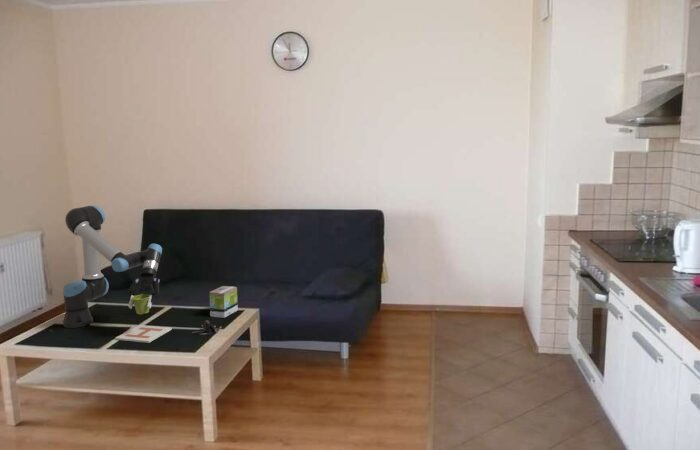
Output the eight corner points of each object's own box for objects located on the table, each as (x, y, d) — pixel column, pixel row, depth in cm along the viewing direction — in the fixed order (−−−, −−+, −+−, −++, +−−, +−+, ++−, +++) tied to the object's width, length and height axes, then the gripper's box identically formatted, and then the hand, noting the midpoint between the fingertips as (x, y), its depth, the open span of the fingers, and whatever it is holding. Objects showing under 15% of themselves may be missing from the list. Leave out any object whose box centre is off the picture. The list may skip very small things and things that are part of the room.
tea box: (225, 318, 322) (223, 293, 320) (209, 316, 325) (208, 291, 323) (238, 310, 336) (237, 286, 334) (223, 309, 339) (222, 285, 337)
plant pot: (145, 315, 291) (144, 299, 290) (129, 315, 293) (127, 299, 292) (155, 310, 300) (154, 294, 299) (139, 309, 302) (138, 293, 301)
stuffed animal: (226, 328, 303) (209, 320, 294) (218, 345, 300) (201, 338, 292) (213, 323, 311) (196, 315, 302) (205, 340, 308) (188, 333, 300)
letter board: (115, 339, 292) (115, 337, 292) (139, 326, 311) (139, 325, 310) (148, 342, 286) (148, 340, 286) (171, 329, 305) (171, 327, 305)
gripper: (127, 266, 304) (115, 304, 291) (167, 266, 302) (157, 303, 289) (132, 274, 310) (121, 310, 297) (171, 273, 308) (162, 310, 295)
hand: (139, 307), depth 293 cm, fingers closed on plant pot, 9 cm apart
